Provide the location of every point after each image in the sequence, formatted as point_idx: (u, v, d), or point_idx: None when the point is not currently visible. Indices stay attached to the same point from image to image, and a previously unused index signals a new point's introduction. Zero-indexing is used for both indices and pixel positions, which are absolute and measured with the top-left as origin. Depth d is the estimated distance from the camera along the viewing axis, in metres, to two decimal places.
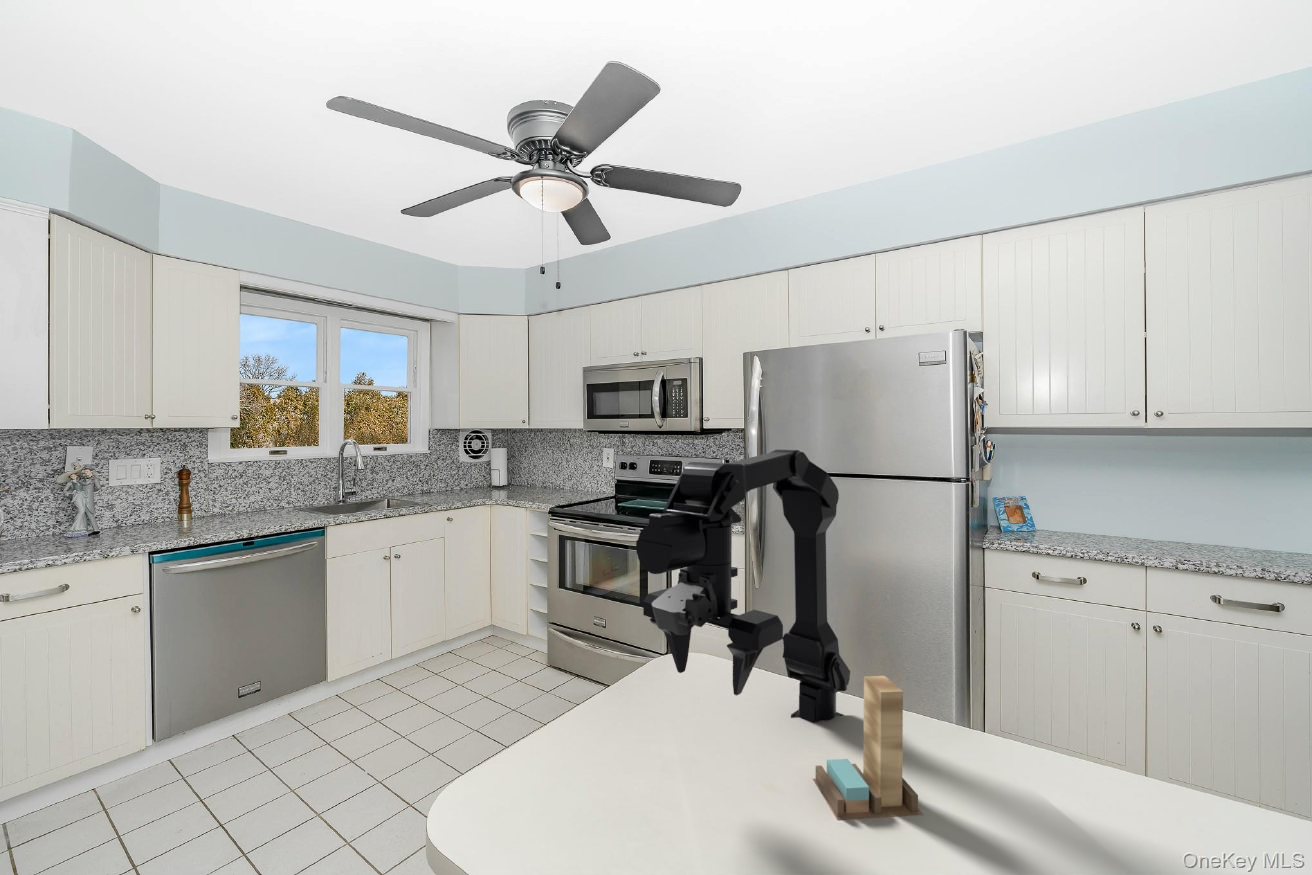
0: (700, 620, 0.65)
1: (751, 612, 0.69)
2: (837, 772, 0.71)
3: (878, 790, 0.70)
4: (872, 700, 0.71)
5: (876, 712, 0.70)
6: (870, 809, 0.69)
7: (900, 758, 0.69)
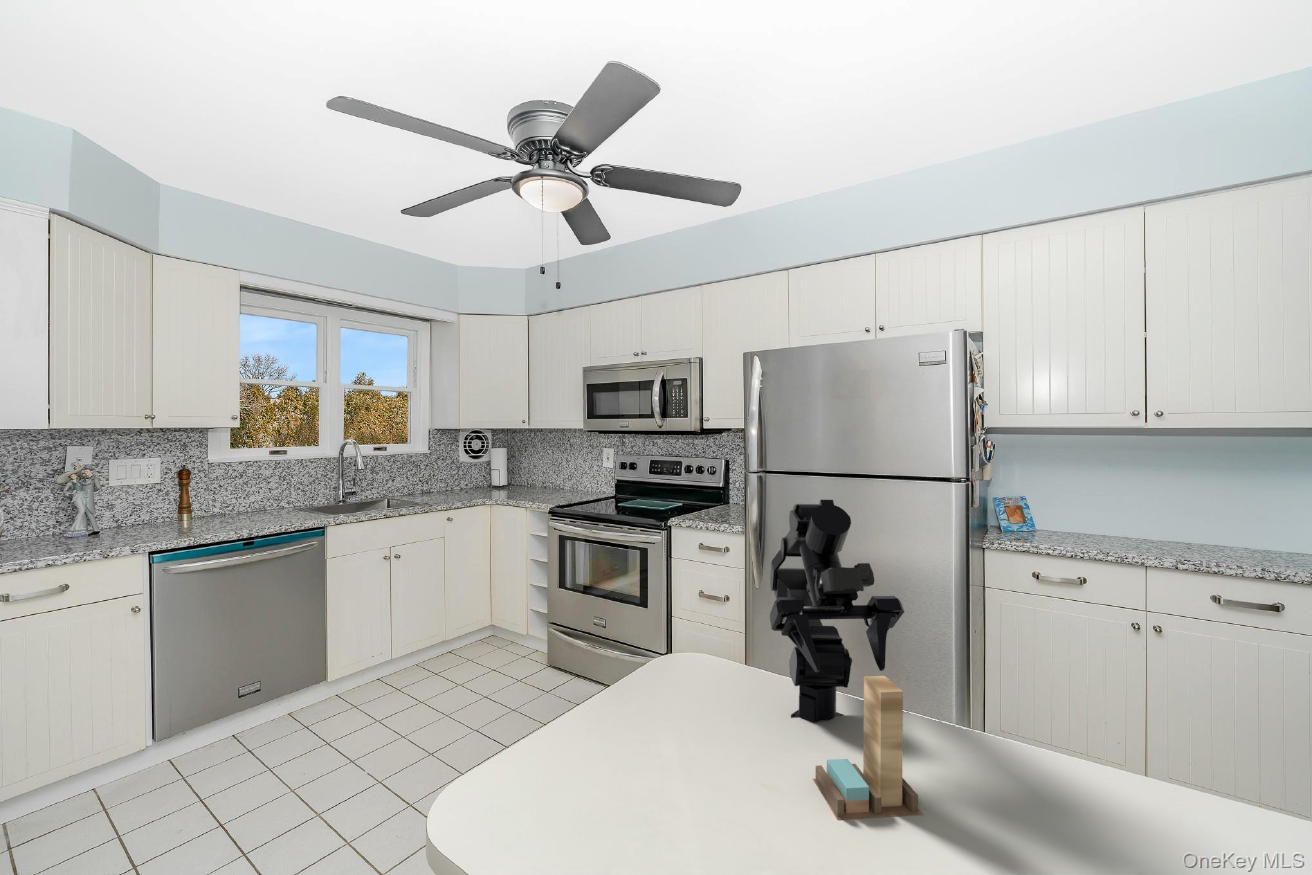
0: None
1: None
2: (837, 772, 0.71)
3: (878, 790, 0.70)
4: (872, 700, 0.71)
5: (876, 712, 0.70)
6: (870, 809, 0.69)
7: (900, 758, 0.69)
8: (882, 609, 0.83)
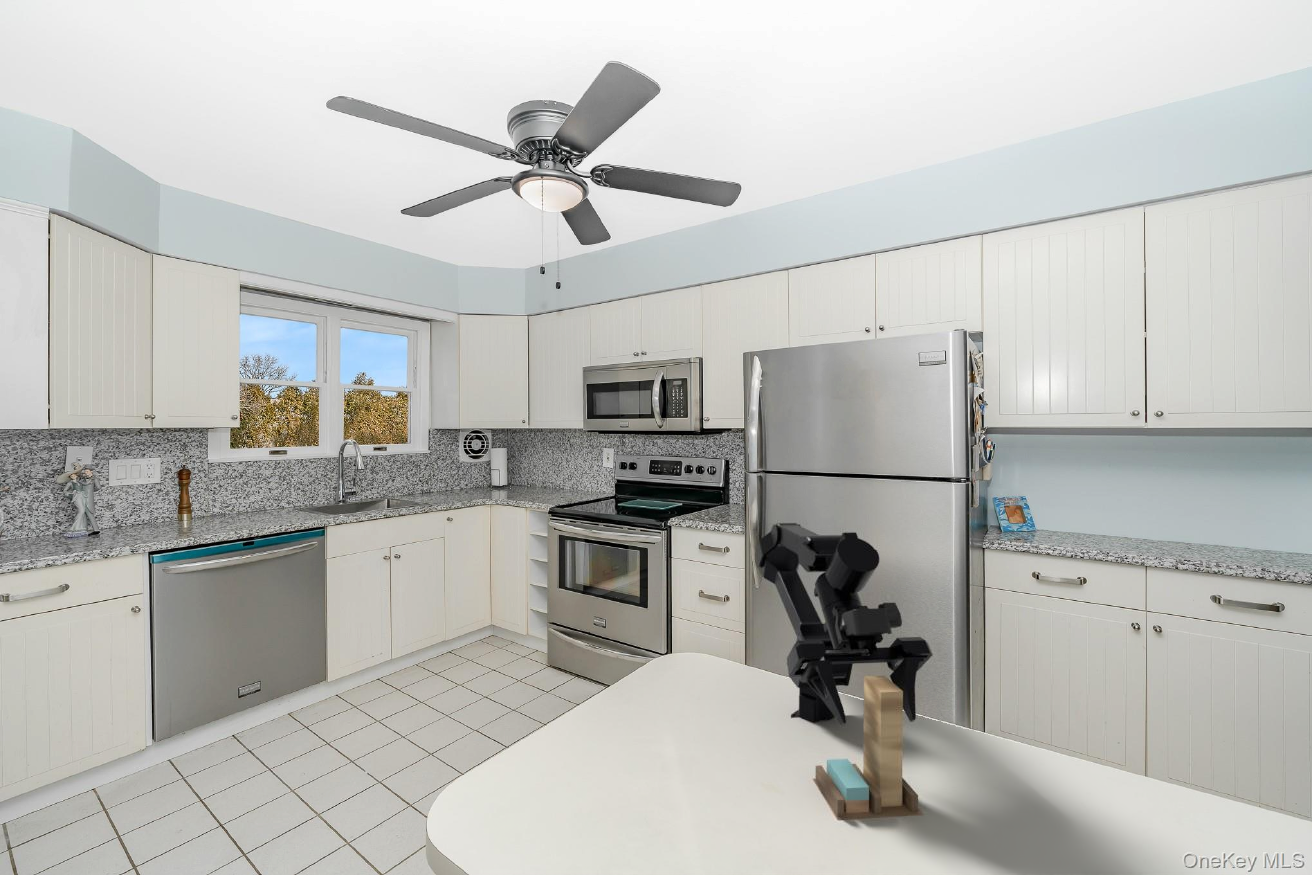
0: None
1: None
2: (837, 772, 0.71)
3: (878, 790, 0.70)
4: (872, 700, 0.71)
5: (876, 712, 0.70)
6: (870, 809, 0.69)
7: (900, 758, 0.69)
8: (909, 652, 0.77)
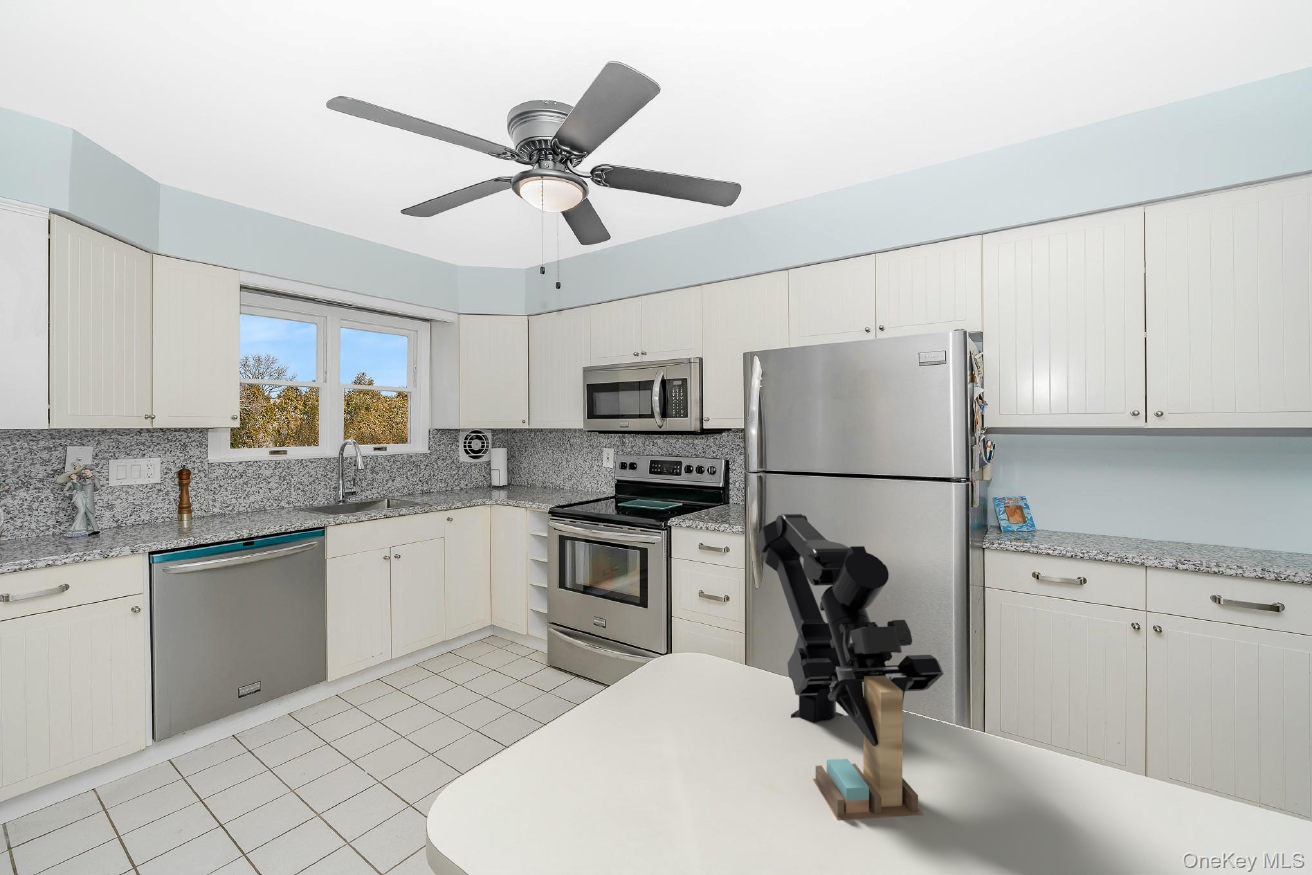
0: None
1: None
2: (837, 772, 0.71)
3: (878, 790, 0.70)
4: (872, 700, 0.71)
5: (876, 712, 0.70)
6: (870, 809, 0.69)
7: (900, 758, 0.69)
8: (919, 671, 0.74)
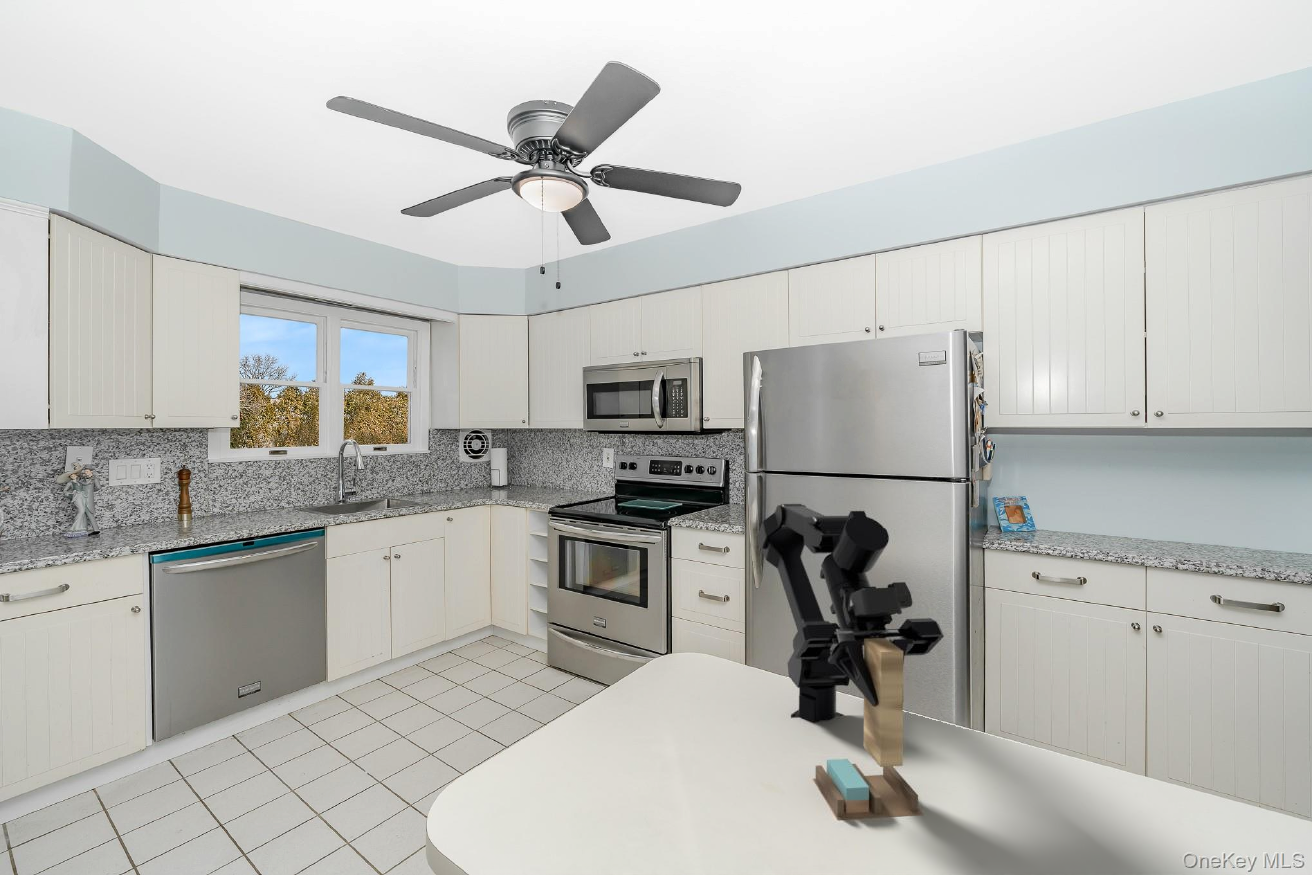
0: None
1: None
2: (837, 772, 0.71)
3: (879, 750, 0.70)
4: (872, 661, 0.71)
5: (877, 673, 0.70)
6: (870, 809, 0.69)
7: (900, 718, 0.69)
8: (920, 634, 0.74)
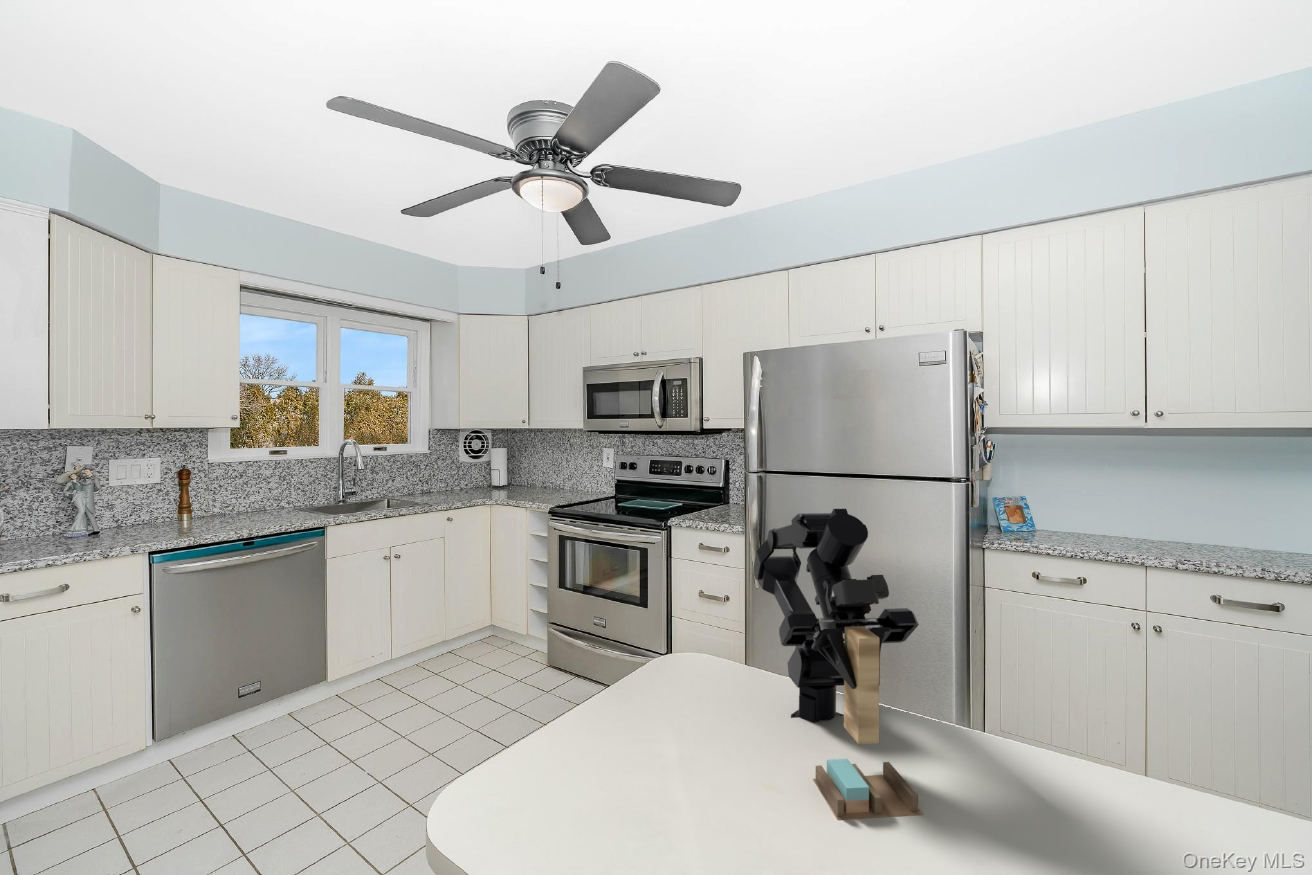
0: None
1: None
2: (837, 772, 0.71)
3: (857, 729, 0.76)
4: (851, 647, 0.77)
5: (855, 658, 0.76)
6: (870, 809, 0.69)
7: (877, 699, 0.75)
8: (896, 622, 0.80)
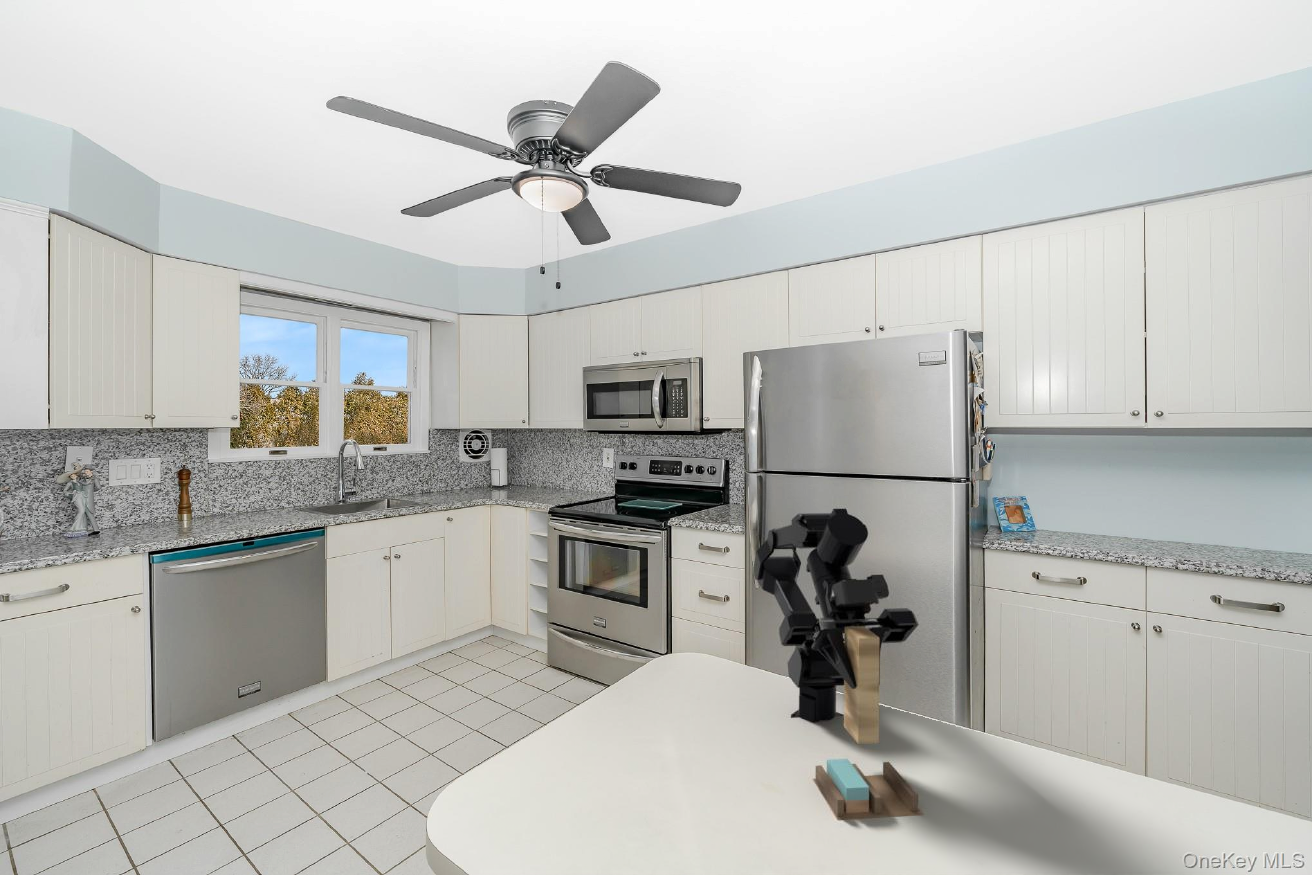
0: None
1: None
2: (837, 772, 0.71)
3: (857, 729, 0.76)
4: (851, 647, 0.77)
5: (855, 658, 0.76)
6: (870, 809, 0.69)
7: (877, 699, 0.75)
8: (896, 622, 0.80)
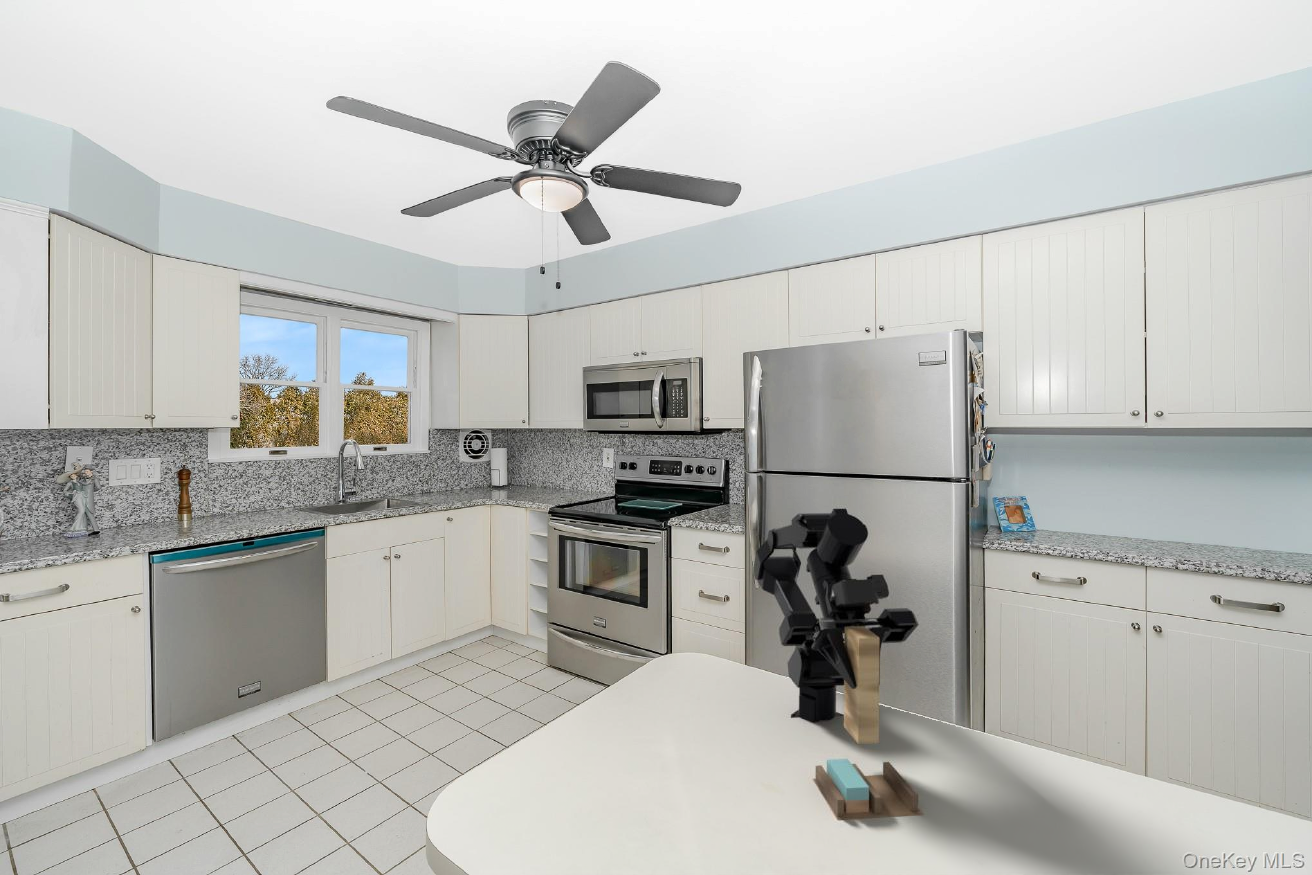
0: None
1: None
2: (837, 772, 0.71)
3: (857, 729, 0.76)
4: (851, 647, 0.77)
5: (855, 658, 0.76)
6: (870, 809, 0.69)
7: (877, 699, 0.75)
8: (896, 622, 0.80)
